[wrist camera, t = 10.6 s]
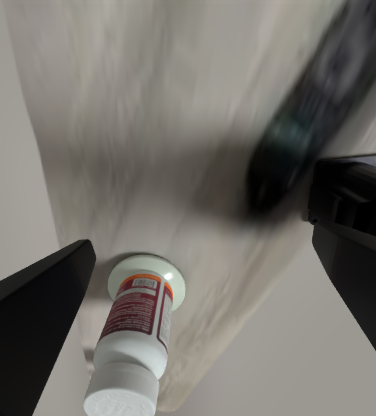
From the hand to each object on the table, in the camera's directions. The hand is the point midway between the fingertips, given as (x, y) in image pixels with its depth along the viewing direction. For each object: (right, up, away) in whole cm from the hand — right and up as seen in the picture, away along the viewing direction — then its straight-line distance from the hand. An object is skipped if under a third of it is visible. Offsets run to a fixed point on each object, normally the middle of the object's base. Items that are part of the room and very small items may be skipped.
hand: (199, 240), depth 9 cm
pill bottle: (-5, -8, +17) cm, 20 cm away
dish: (-5, -8, +18) cm, 20 cm away
